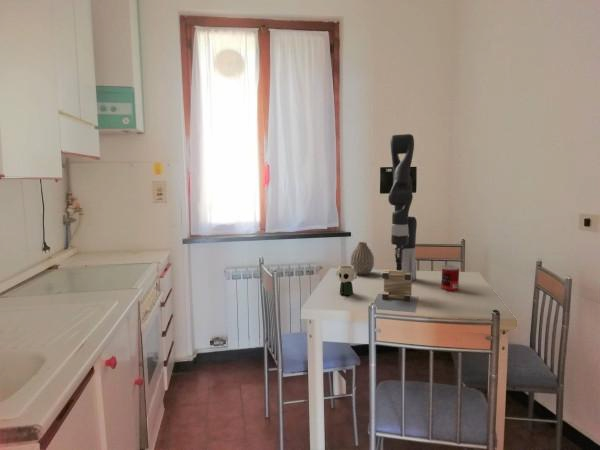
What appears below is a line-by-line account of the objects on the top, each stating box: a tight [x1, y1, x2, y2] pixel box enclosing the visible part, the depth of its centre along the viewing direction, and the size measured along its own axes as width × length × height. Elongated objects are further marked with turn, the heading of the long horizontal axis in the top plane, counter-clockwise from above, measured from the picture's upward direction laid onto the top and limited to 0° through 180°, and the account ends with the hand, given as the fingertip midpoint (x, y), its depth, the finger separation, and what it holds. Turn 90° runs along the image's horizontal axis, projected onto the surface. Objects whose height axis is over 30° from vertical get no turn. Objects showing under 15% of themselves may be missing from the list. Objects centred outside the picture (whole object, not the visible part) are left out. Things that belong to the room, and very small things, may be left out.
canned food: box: [441, 264, 460, 292], centre depth 213 cm, size 8×8×11 cm
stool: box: [381, 269, 413, 302], centre depth 197 cm, size 7×12×12 cm, turn 72°
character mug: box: [335, 264, 358, 296], centre depth 206 cm, size 11×7×13 cm, turn 52°
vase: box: [349, 241, 375, 276], centre depth 246 cm, size 13×13×18 cm
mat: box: [373, 293, 419, 313], centre depth 192 cm, size 23×18×1 cm
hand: (399, 271), depth 204 cm, fingers closed
